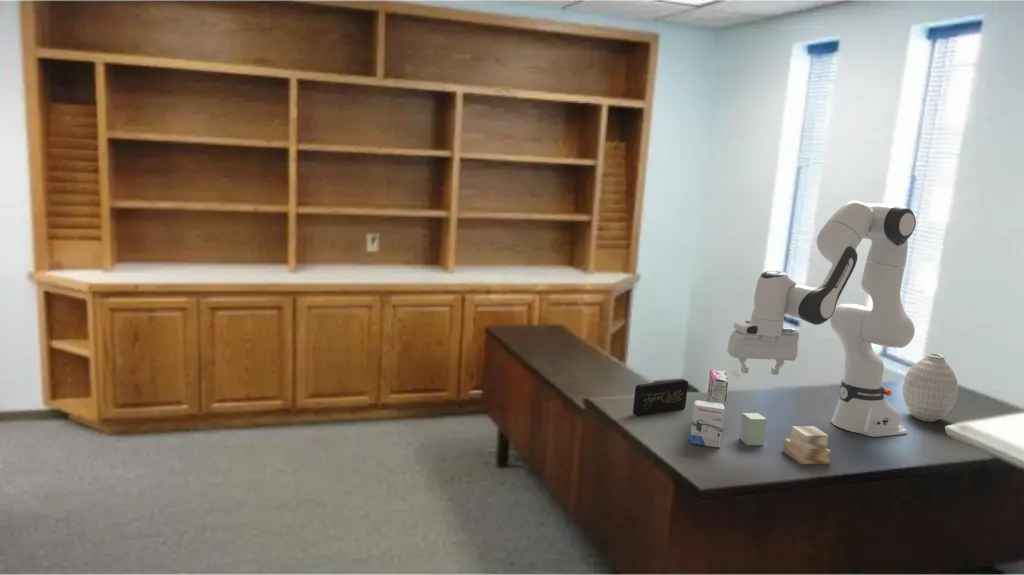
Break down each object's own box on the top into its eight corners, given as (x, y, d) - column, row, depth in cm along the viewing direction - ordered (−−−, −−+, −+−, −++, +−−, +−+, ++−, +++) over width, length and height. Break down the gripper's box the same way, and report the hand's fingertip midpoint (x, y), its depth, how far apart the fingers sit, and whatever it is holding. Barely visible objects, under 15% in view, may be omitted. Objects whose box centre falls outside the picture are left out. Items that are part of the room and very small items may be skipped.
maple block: (811, 439, 213) (813, 426, 212) (826, 449, 206) (828, 435, 206) (789, 439, 212) (791, 426, 211) (803, 449, 205) (805, 435, 204)
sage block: (754, 438, 221) (758, 413, 219) (763, 445, 216) (766, 419, 215) (739, 438, 220) (742, 413, 218) (747, 445, 215) (750, 419, 214)
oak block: (811, 451, 214) (813, 438, 214) (829, 464, 206) (831, 451, 205) (782, 451, 213) (784, 438, 212) (799, 464, 204) (801, 451, 203)
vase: (907, 407, 263) (917, 346, 259) (958, 420, 252) (969, 357, 248) (891, 415, 252) (901, 352, 248) (943, 430, 240) (955, 364, 237)
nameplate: (636, 417, 232) (639, 386, 231) (632, 415, 234) (635, 385, 232) (685, 409, 243) (688, 380, 242) (681, 407, 245) (684, 378, 243)
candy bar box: (703, 418, 235) (709, 369, 232) (720, 420, 234) (726, 371, 231) (705, 430, 224) (712, 378, 222) (722, 433, 224) (729, 381, 221)
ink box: (689, 444, 213) (694, 405, 211) (689, 437, 218) (694, 399, 215) (720, 448, 211) (725, 409, 209) (719, 442, 216) (724, 403, 214)
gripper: (794, 326, 217) (787, 371, 219) (728, 322, 214) (722, 368, 216) (805, 331, 211) (798, 378, 213) (738, 327, 208) (731, 375, 210)
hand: (759, 373), depth 215 cm, fingers open, 8 cm apart
